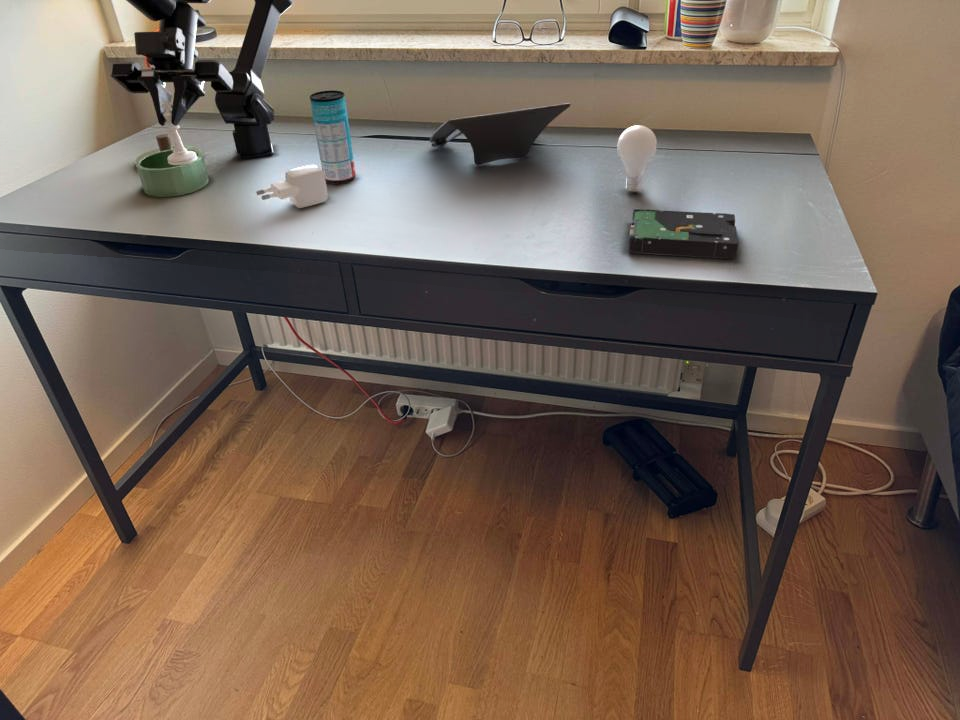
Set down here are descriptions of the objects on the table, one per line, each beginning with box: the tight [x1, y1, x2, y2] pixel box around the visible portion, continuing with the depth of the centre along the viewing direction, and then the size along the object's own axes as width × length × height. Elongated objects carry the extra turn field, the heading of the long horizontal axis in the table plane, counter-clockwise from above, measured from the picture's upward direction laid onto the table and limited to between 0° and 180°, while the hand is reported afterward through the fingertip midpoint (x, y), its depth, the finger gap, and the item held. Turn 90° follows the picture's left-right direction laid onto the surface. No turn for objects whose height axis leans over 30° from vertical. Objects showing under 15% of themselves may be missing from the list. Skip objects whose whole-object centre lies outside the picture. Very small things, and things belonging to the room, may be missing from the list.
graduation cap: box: [429, 102, 571, 166], centre depth 137 cm, size 23×23×9 cm
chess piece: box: [161, 101, 198, 165], centre depth 121 cm, size 5×5×10 cm
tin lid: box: [135, 133, 202, 163], centre depth 143 cm, size 12×12×5 cm
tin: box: [135, 149, 210, 198], centre depth 132 cm, size 11×11×5 cm
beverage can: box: [309, 90, 357, 185], centre depth 128 cm, size 6×6×15 cm
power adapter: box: [255, 164, 329, 209], centre depth 121 cm, size 11×5×6 cm, turn 123°
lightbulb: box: [616, 124, 658, 193], centre depth 118 cm, size 6×6×11 cm
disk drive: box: [627, 208, 739, 259], centre depth 104 cm, size 10×3×15 cm
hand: (167, 124), depth 119 cm, fingers closed on chess piece
